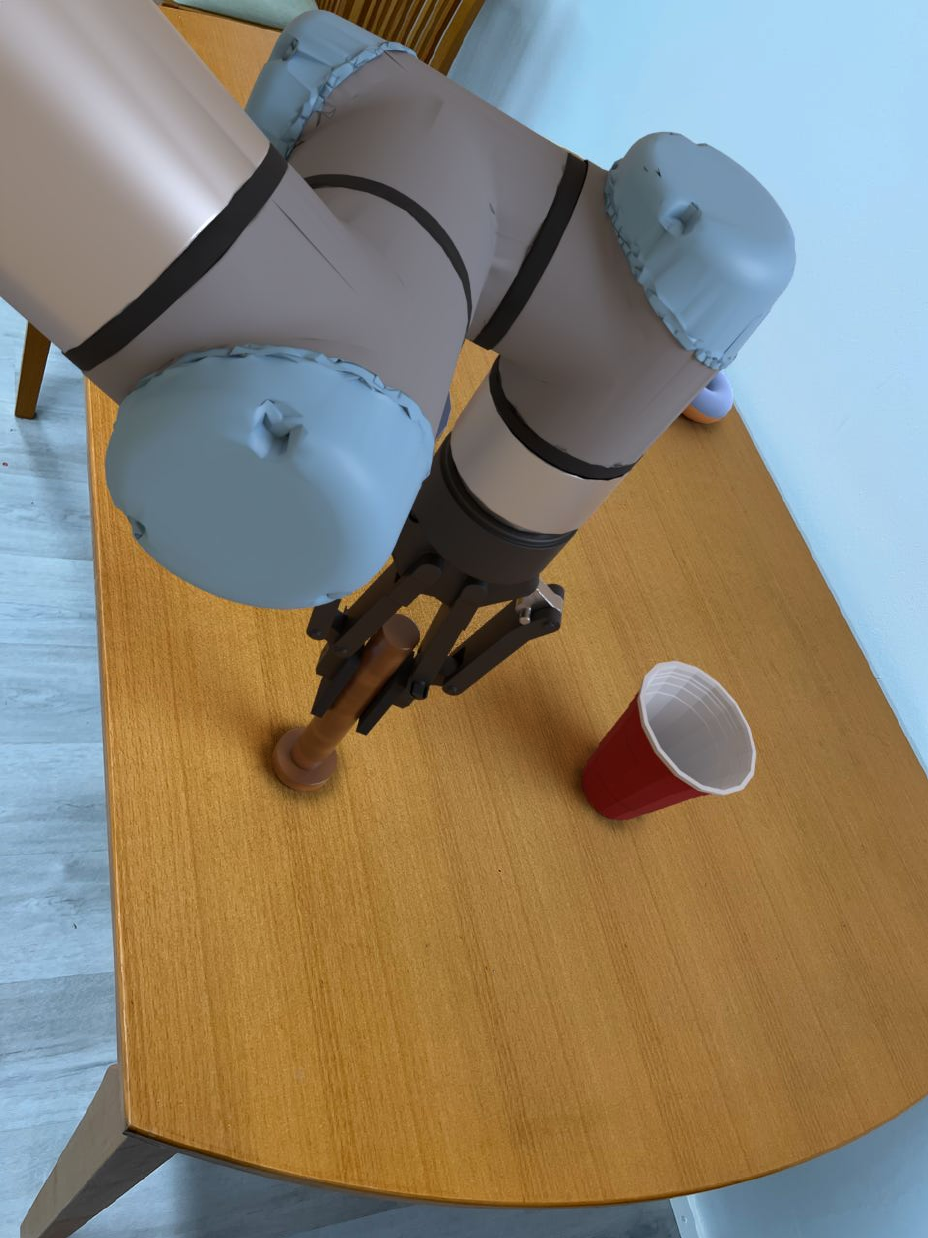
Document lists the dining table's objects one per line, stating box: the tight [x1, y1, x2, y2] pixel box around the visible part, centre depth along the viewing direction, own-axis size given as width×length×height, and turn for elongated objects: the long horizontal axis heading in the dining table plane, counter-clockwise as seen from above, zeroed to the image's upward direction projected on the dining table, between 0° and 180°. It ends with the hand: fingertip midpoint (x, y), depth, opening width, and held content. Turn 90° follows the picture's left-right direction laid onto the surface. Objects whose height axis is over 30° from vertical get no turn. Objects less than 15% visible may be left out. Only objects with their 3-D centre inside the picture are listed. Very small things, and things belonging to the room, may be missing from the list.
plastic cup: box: [581, 660, 757, 822], centre depth 75 cm, size 11×11×12 cm
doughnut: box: [681, 370, 734, 425], centre depth 115 cm, size 10×10×5 cm
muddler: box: [271, 612, 421, 792], centre depth 62 cm, size 4×4×18 cm
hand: (343, 707), depth 62 cm, fingers closed on muddler, 2 cm apart
